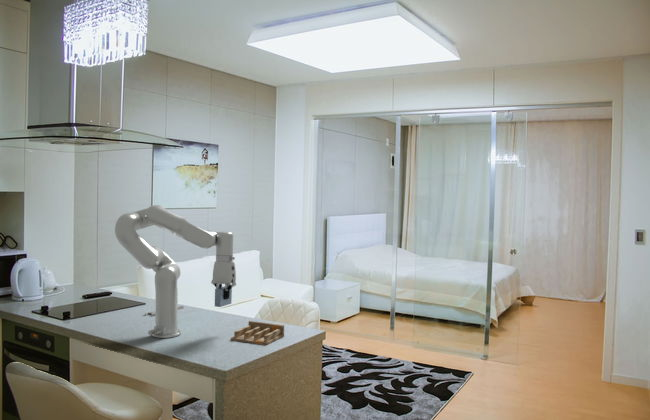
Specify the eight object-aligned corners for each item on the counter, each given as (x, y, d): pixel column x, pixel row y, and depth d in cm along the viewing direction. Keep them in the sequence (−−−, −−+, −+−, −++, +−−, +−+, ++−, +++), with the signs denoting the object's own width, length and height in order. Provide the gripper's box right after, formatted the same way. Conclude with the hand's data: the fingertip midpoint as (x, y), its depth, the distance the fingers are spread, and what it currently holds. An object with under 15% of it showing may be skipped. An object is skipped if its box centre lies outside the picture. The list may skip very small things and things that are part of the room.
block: (220, 307, 230) (220, 289, 230) (214, 306, 232) (215, 288, 231) (231, 303, 239) (231, 286, 238) (225, 302, 240) (226, 285, 240)
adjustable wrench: (181, 308, 290) (181, 305, 290) (189, 310, 286) (189, 306, 286) (143, 315, 269) (143, 312, 269) (150, 317, 266) (150, 314, 266)
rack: (266, 345, 217) (266, 333, 217) (230, 340, 224) (230, 328, 224) (284, 336, 232) (284, 325, 232) (249, 331, 239) (249, 320, 239)
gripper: (243, 259, 235) (242, 299, 235) (214, 256, 241) (213, 295, 242) (234, 260, 228) (233, 302, 228) (204, 258, 234) (203, 298, 235)
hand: (223, 298), depth 235 cm, fingers closed on block, 2 cm apart
